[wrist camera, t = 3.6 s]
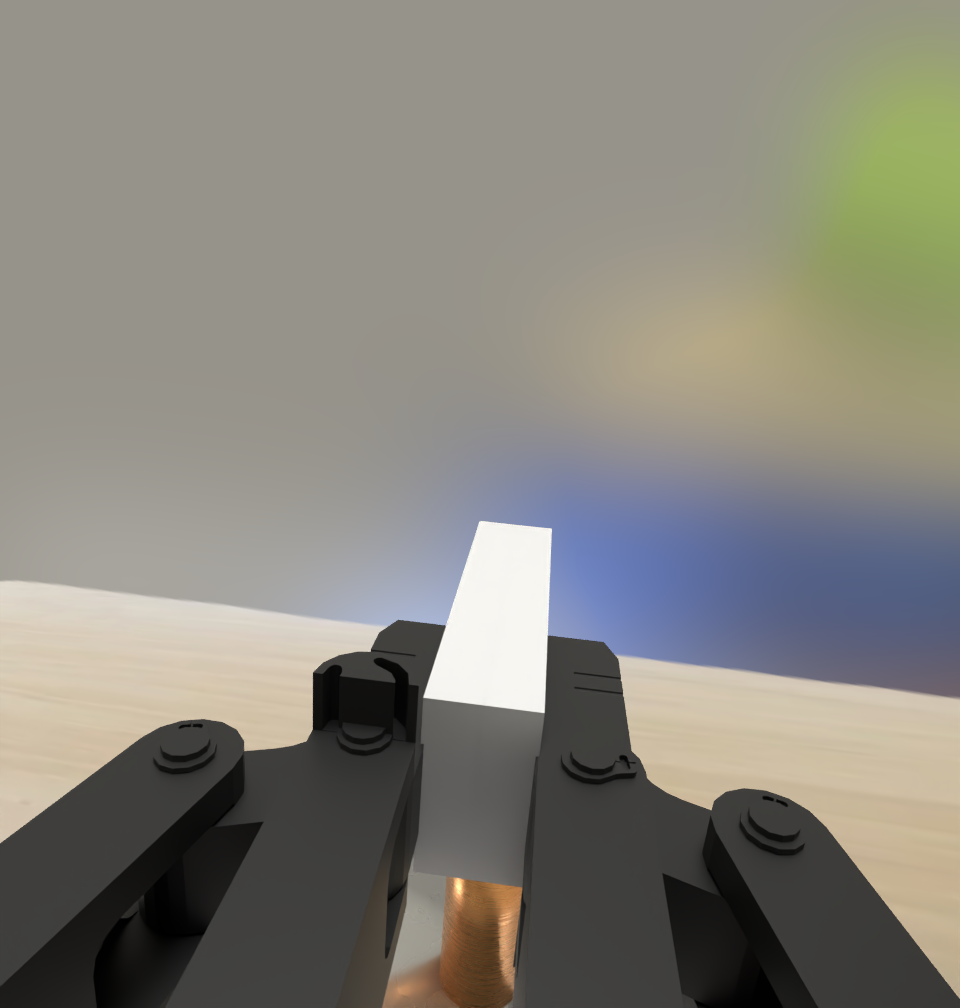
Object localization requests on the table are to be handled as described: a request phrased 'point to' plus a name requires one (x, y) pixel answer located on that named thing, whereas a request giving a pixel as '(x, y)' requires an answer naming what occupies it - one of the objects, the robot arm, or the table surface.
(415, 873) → the lugged metal dome
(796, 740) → the table surface
